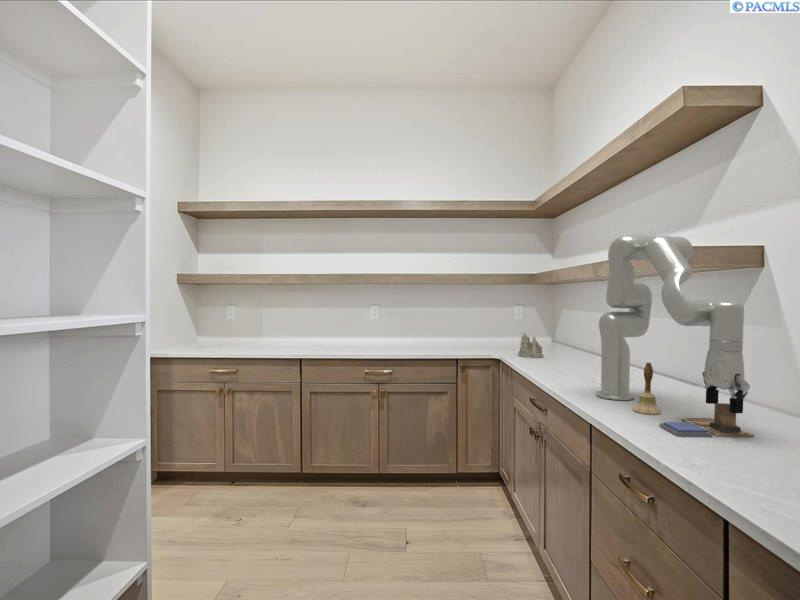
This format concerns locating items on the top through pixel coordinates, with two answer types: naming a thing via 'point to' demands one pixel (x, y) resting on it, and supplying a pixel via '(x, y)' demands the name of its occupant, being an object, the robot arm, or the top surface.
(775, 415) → the top surface
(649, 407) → the hand bell
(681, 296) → the robot arm
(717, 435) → the board
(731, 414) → the stamp
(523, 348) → the castle ruin model
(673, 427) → the ink pad
